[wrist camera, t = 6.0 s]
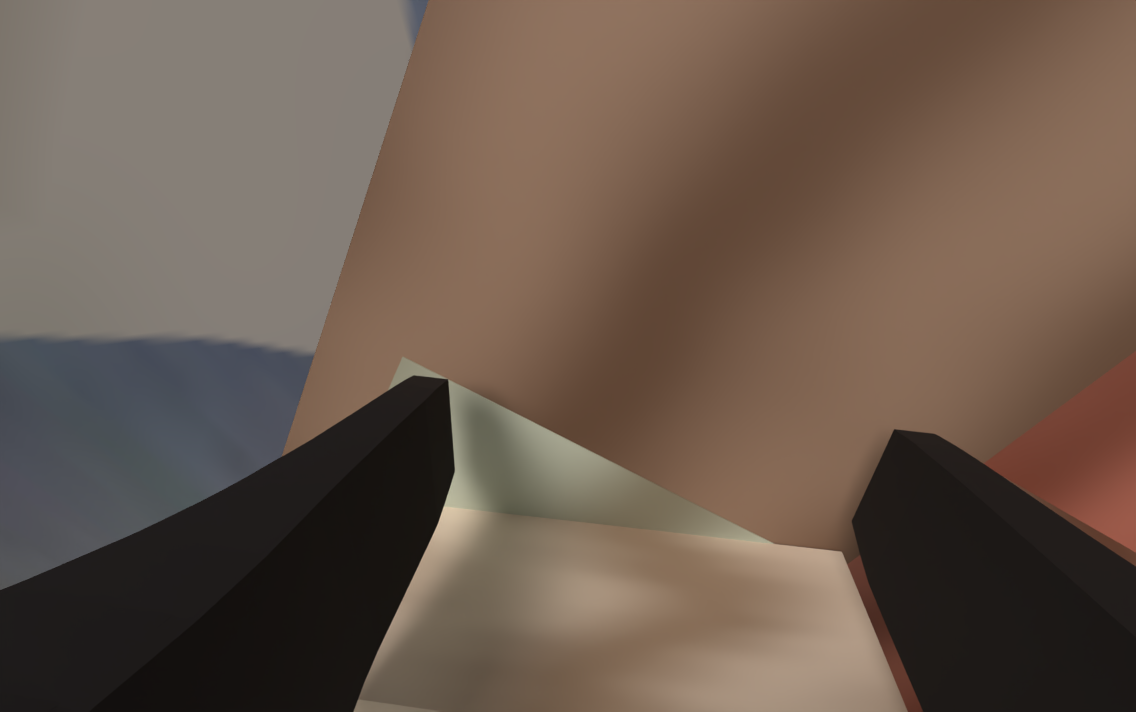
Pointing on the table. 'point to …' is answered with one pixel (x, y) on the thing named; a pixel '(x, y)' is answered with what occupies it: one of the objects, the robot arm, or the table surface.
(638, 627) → the birch block
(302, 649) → the robot arm
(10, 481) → the table surface
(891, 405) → the trap deck
